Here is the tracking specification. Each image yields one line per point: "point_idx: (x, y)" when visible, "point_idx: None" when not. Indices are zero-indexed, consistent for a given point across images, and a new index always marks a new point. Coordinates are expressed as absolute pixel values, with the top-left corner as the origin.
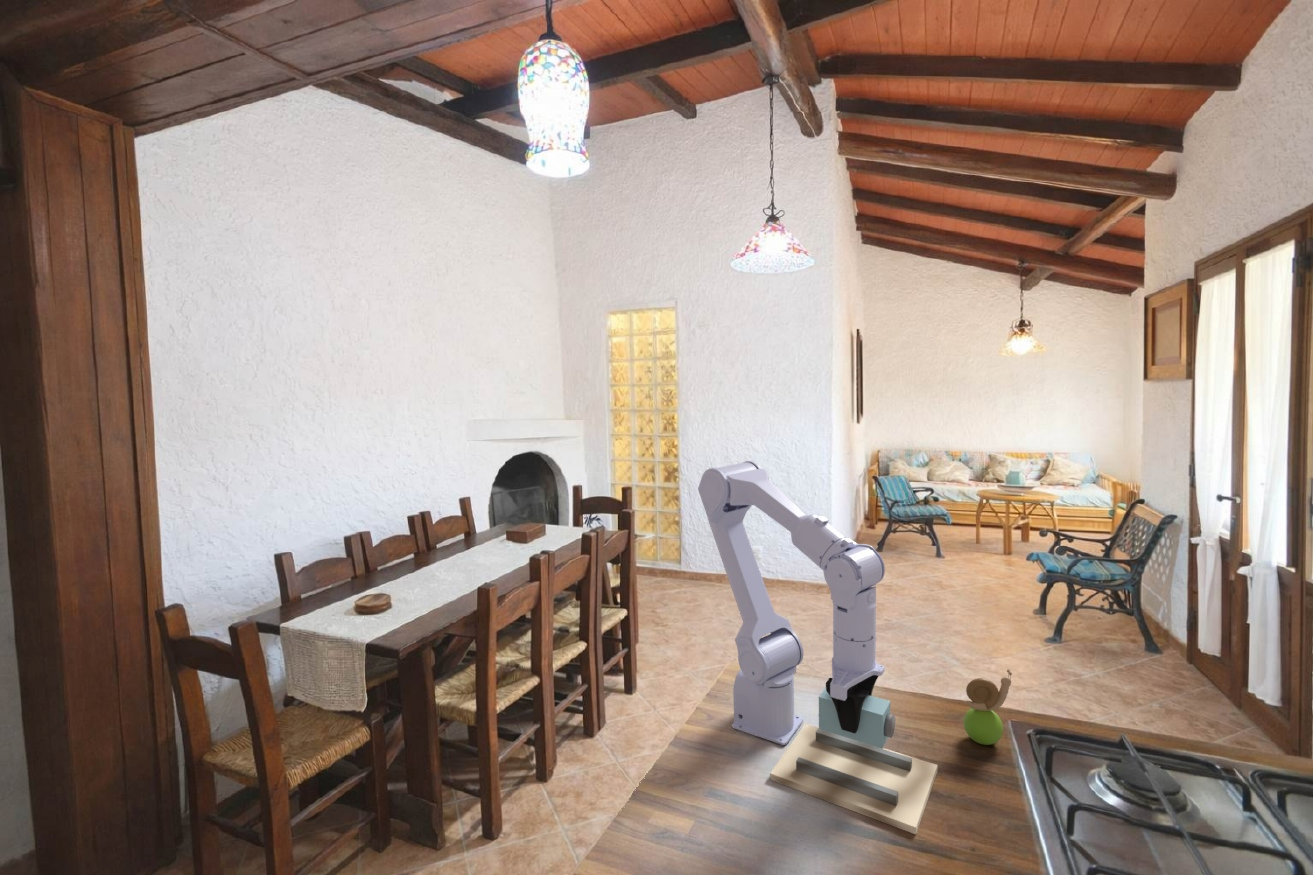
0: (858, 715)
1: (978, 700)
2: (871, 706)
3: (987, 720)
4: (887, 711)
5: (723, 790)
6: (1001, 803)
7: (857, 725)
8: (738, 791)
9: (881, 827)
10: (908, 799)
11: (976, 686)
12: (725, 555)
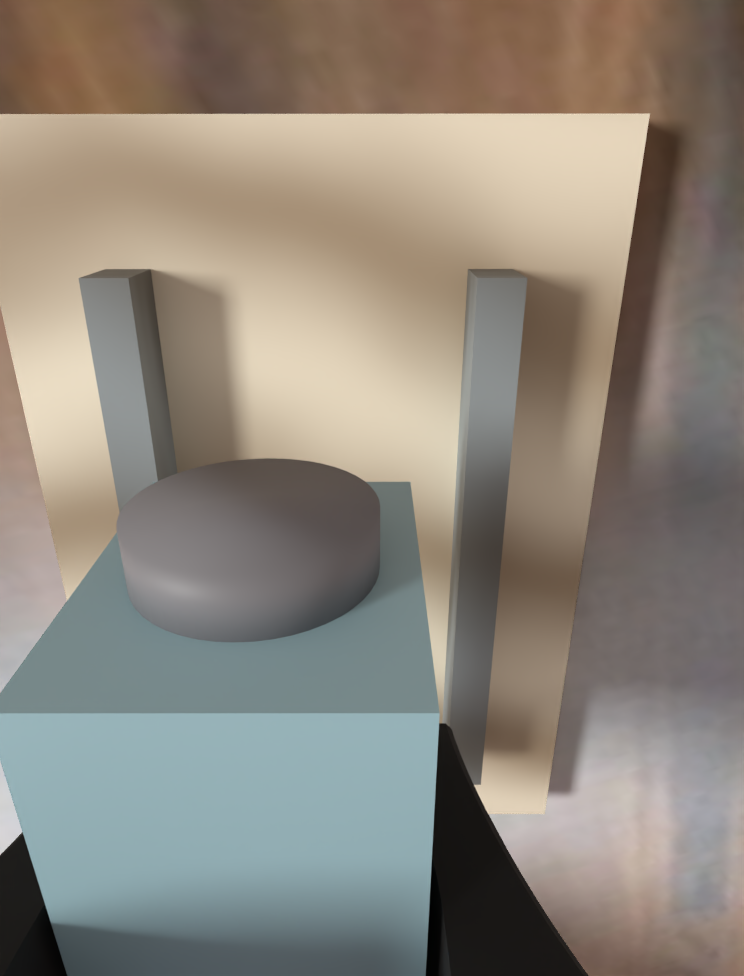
0: (531, 894)
1: None
2: (298, 857)
3: None
4: (189, 658)
5: (672, 880)
6: None
7: (466, 778)
8: (656, 844)
9: (646, 307)
10: (417, 217)
11: None
12: None
